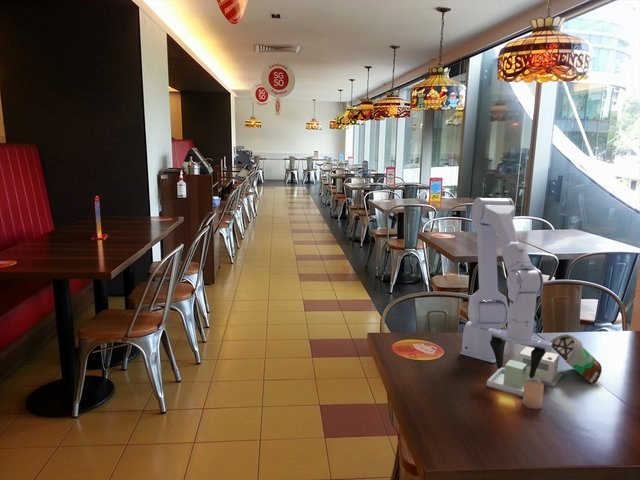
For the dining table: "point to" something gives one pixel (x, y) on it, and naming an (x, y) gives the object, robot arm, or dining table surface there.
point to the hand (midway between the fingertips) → (515, 371)
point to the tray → (497, 383)
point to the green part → (515, 374)
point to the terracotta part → (533, 394)
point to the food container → (577, 357)
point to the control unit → (543, 366)
